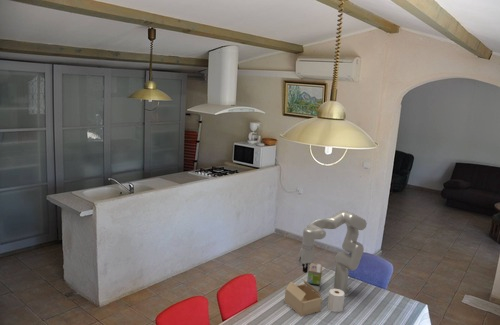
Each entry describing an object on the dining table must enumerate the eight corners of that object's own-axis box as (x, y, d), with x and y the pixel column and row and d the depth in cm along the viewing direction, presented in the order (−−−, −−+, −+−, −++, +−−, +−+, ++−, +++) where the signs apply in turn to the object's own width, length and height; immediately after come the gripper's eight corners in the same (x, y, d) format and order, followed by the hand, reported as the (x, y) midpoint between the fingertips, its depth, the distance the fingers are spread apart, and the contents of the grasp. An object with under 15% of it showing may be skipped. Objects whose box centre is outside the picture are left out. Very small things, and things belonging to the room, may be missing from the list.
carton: (302, 296, 288) (303, 283, 286) (320, 311, 270) (322, 298, 268) (284, 301, 281) (285, 288, 279) (301, 316, 263) (302, 303, 261)
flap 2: (305, 284, 285) (305, 284, 285) (320, 296, 270) (321, 296, 270) (302, 279, 282) (302, 278, 282) (317, 290, 267) (317, 290, 267)
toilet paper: (342, 313, 269) (343, 297, 267) (326, 310, 272) (328, 293, 270) (343, 306, 279) (345, 290, 276) (328, 302, 282) (330, 287, 280)
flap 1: (290, 281, 278) (290, 281, 278) (306, 293, 263) (305, 293, 263) (286, 288, 277) (286, 288, 277) (301, 301, 262) (300, 301, 262)
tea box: (319, 291, 298) (321, 272, 295) (306, 288, 300) (308, 270, 297) (320, 281, 312) (322, 264, 309) (307, 279, 314) (309, 262, 311)
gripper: (313, 243, 274) (310, 268, 277) (295, 245, 267) (292, 271, 270) (319, 247, 267) (317, 272, 271) (301, 250, 260) (299, 276, 263)
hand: (304, 272), depth 270 cm, fingers closed
